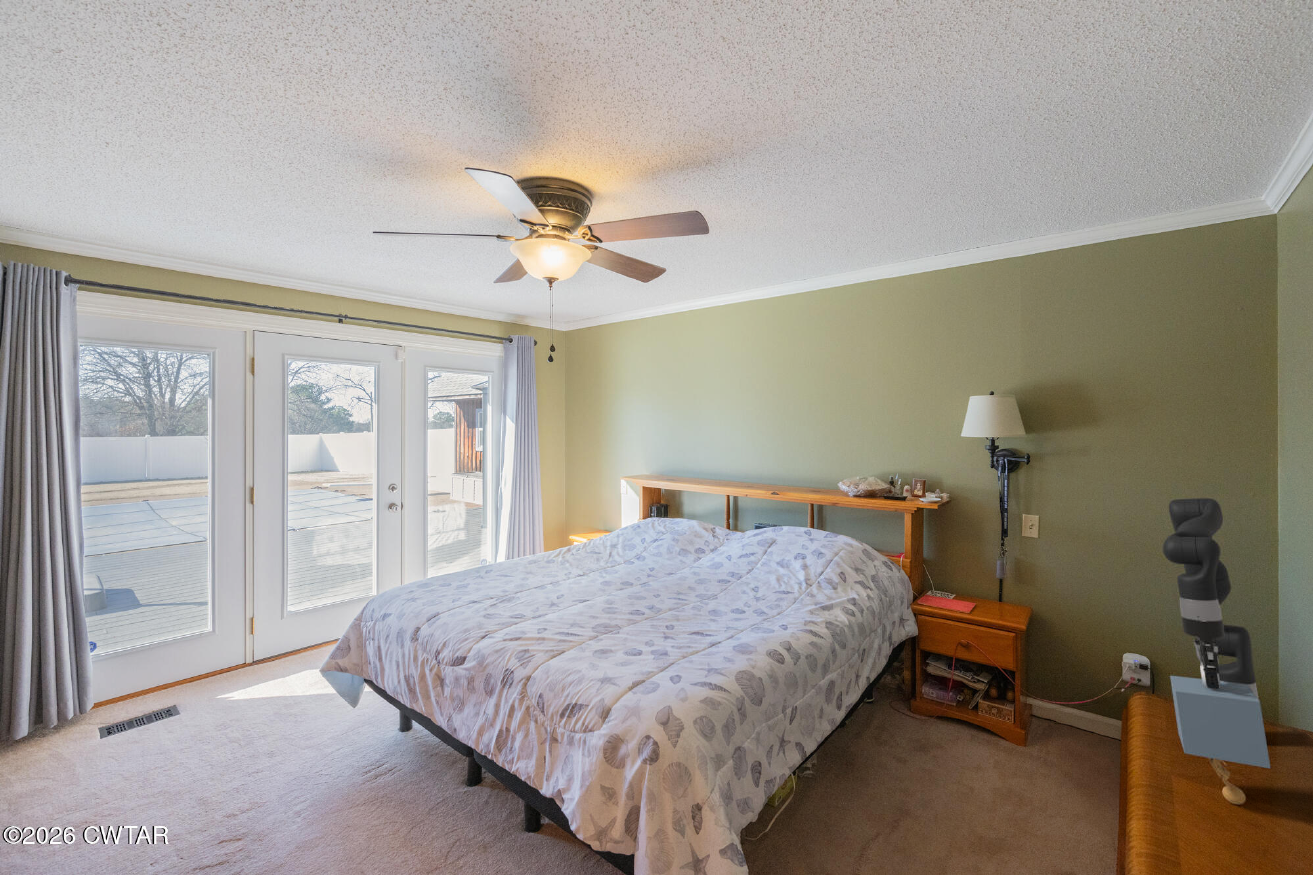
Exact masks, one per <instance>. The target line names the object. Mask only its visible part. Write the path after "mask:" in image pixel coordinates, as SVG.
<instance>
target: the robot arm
mask: <svg viewBox="0 0 1313 875" xmlns="http://www.w3.org/2000/svg"><path fill="white" fill-rule="evenodd" d="M1168 511H1169V512H1168V513H1169V516H1170V521H1171V525H1172V526H1173V530H1174V533H1172V534H1170V535H1168V536H1167V538H1166V539H1165V540H1164V542H1163V545H1162V553H1163V555H1164V557H1165V558H1166V560H1168V561H1169V562H1171V563H1172V564H1176V565H1177V564H1178V565H1183V568H1184V571H1185V573H1181V574H1179V575H1178V576H1177V579H1176V580H1177V586H1178V587H1177V588H1178V593H1179V607H1180V608H1179V610H1180V616H1181V623H1182V630H1183V632H1184V634H1186V635H1188V636H1191V637H1195V638H1194V640H1193V644H1194V648H1195V650H1196V651H1195V652H1196V657H1197V658H1198V661H1199V665H1200V666H1202V665H1203V671H1204V672H1205V679H1206V685H1207V687H1208V688H1212V689H1219V683H1218V676H1217V674H1219V680H1220V681H1223V682H1231V683H1240V684H1248V685H1249V687H1250V688H1251V690H1252V691H1253V693H1254V694H1255V696H1256V697H1257V698H1258V700H1259V693H1258V688H1257V682H1256V674H1255V669H1254V663H1253V651H1252V650H1253V649H1252V640H1251V636H1250V633H1249V631H1248V630H1247V628H1246V627H1244V626H1238V625H1233V624H1231V625H1230V624H1224V622H1223V617H1222V615H1223V614H1222V609H1221V605H1222V604H1223V603H1224V601H1225V600H1226V599H1227V597H1228V596H1229V595H1230V593H1231V589H1232V585H1231V582H1230V578H1229V571H1228V569H1227V567H1226V566H1225V564H1224V563H1223V562H1222V561H1221V560H1220V556H1221V547H1220V545H1219V543H1218V542H1217V541H1216V540H1215V539H1213V536H1214V535H1215V534H1216V533H1218V531H1219V530H1220V529H1221V528H1222V525H1223V522H1224V518H1223V517H1224V516H1223V512H1222V507H1221V505H1220V504H1219V502H1218V501H1217V500H1215V499H1214V498H1205V497H1203V498H1202V497H1201V498H1177V499H1172V500H1171V501H1170V502H1169V504H1168ZM1219 656H1225V657H1230V658H1231V657H1232V658H1236V660H1235V661H1233V662H1229V663H1223V664H1220V662H1219ZM1207 666H1213V667H1214V668H1211V667H1207ZM1259 701H1260V700H1259Z"/></svg>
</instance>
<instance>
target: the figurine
mask: <svg viewBox="0 0 1313 875" xmlns="http://www.w3.org/2000/svg"><path fill="white" fill-rule="evenodd" d="M1207 759H1209V762H1210V764H1211V766H1212V768H1213V769H1214V771H1215V773H1216V774H1217V776H1218V777H1219V778H1221V779H1222V782H1223V783H1224V785H1225V786H1224V787H1223V788H1222V795H1223V797H1224V798H1225V799H1226V801H1227V802H1229V803H1231V804H1233V805H1243V804H1244V803H1245V802H1246V795H1245V793H1244V792H1243V790H1241V789H1240V788H1239V787H1237V786H1235V785H1234V784H1233V783H1231V782H1229V779H1230V776H1231V772H1230V771H1228V770H1227V769H1226V768H1225V767H1224V766H1227V767H1228V765H1227V763H1226V762H1225V760H1219V759H1214V758H1208V757H1207ZM1221 762H1222V763H1223V764H1224V766H1223V765H1222V763H1221Z"/></svg>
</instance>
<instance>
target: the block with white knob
mask: <svg viewBox="0 0 1313 875" xmlns="http://www.w3.org/2000/svg"><path fill="white" fill-rule="evenodd" d="M1199 667H1200V668H1199V669H1200V675H1201V678H1194V677H1189V676H1188V677H1187V676H1178V675H1170V676H1169V677H1170V684H1171V692H1172V698H1173V705H1174V712H1175V718H1176V725H1177V726H1176V727H1177V733H1178V737H1179V739H1180V743H1181V746H1182V749H1183V752H1184V754H1186V755H1193V756H1196V757H1197V756H1198V757H1204V758H1207V759H1208V758H1214V759H1219V760H1223V761H1224V762H1225V761H1226V762H1232V763H1237V764H1243V765H1248V766H1254V767H1258V768H1259V767H1260V768H1265V769H1271V763H1270V757H1269V751H1268V746H1267V739H1266V732H1265V727H1264V719H1263V714H1262V713H1263V712H1262V707H1261V702H1260V700H1258V699H1259V697H1258V698H1257V697H1256V696H1255V694H1254V693H1253V691H1252V690H1251V688H1250V687H1249V685H1248V684H1240V683H1231V682H1223V681H1220V680H1219V674H1217V676H1218V683H1219V689H1212V688H1208V687H1207V685H1206V679H1205V672H1204V671H1203V665H1202V666H1201V665H1200V666H1199ZM1207 667H1211V668H1214V667H1213V666H1207Z"/></svg>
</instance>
